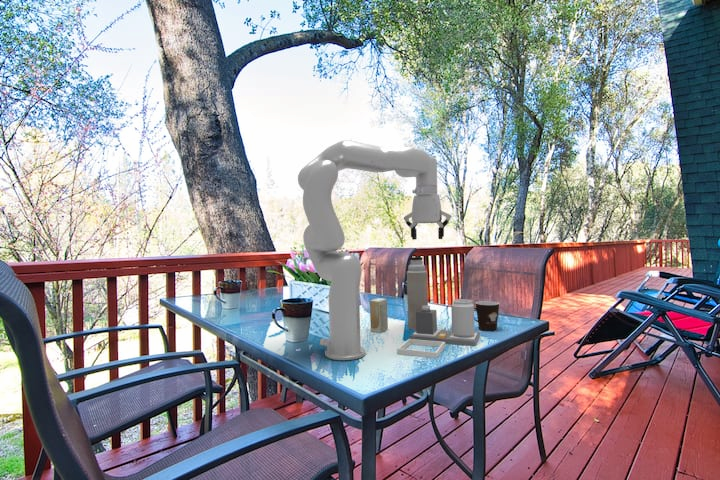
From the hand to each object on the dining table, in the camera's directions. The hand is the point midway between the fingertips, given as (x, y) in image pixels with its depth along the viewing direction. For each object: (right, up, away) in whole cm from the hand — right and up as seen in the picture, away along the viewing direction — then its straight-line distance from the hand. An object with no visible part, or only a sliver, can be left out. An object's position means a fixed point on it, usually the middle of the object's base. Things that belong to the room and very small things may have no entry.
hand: (427, 239), depth 135 cm
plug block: (0, -33, -1) cm, 33 cm away
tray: (-5, -35, -17) cm, 39 cm away
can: (+11, -33, -6) cm, 36 cm away
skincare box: (-17, -36, +10) cm, 41 cm away
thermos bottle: (-1, -35, +13) cm, 37 cm away
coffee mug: (+23, -35, +8) cm, 42 cm away
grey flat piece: (+6, -35, -4) cm, 36 cm away
